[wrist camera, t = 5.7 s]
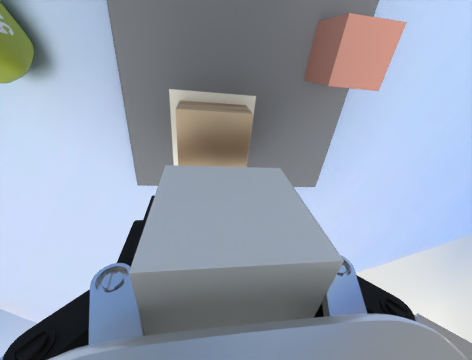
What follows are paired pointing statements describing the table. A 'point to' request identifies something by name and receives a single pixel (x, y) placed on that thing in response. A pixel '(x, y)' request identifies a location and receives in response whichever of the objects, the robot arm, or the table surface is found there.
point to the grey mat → (228, 76)
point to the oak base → (213, 134)
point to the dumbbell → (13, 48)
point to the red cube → (353, 51)
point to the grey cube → (229, 251)
